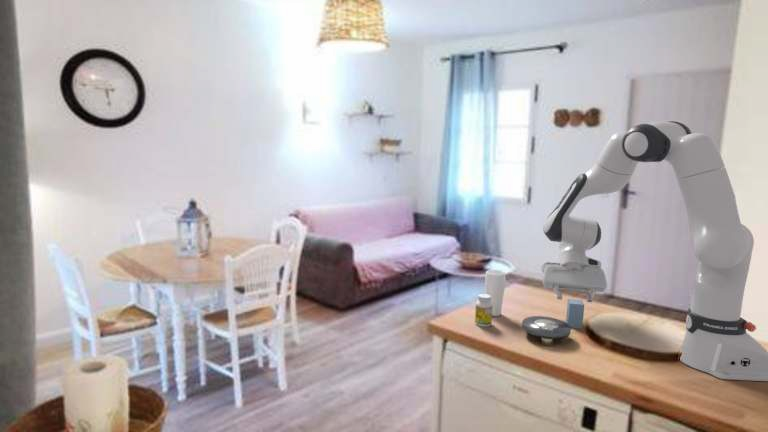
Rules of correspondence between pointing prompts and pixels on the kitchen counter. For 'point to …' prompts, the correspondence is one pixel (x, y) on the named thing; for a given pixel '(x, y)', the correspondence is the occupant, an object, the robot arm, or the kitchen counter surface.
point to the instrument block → (575, 313)
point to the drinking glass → (495, 289)
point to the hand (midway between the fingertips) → (574, 300)
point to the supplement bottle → (483, 310)
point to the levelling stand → (546, 328)
